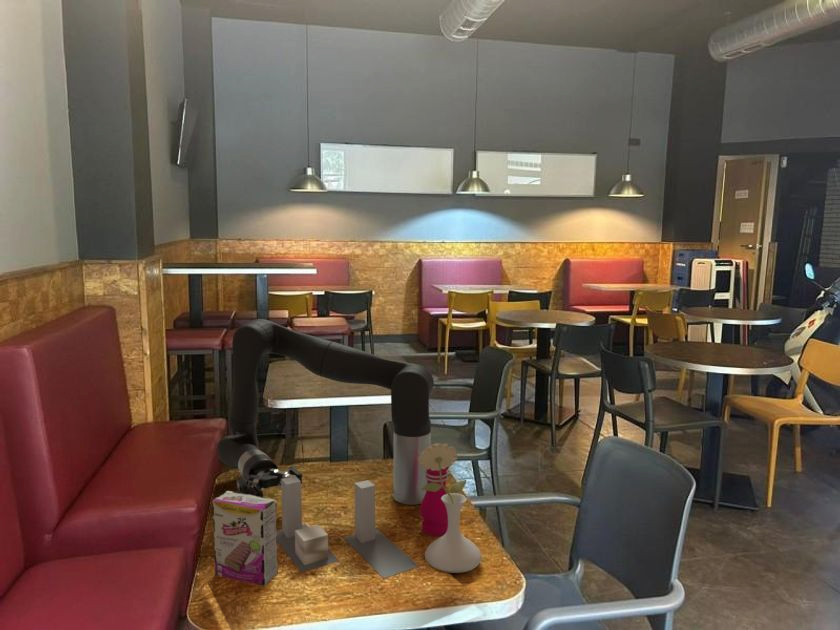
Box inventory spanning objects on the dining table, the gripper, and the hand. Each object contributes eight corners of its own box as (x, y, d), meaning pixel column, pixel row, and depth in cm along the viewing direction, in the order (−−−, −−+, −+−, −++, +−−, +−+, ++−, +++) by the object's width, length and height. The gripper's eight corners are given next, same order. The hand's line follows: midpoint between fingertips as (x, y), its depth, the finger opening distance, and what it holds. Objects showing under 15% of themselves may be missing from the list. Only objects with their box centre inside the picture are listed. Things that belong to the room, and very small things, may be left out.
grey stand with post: (305, 528, 138) (304, 472, 136) (339, 566, 123) (338, 503, 121) (270, 538, 133) (268, 480, 132) (301, 578, 118) (299, 513, 116)
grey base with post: (376, 533, 136) (375, 476, 134) (419, 571, 121) (419, 508, 119) (342, 542, 132) (342, 484, 130) (383, 584, 117) (383, 518, 115)
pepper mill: (427, 540, 134) (428, 451, 131) (414, 525, 140) (415, 440, 137) (457, 533, 136) (459, 446, 134) (443, 519, 143) (444, 436, 140)
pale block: (318, 547, 127) (318, 524, 127) (328, 558, 123) (327, 534, 123) (295, 553, 125) (294, 530, 124) (304, 565, 121) (304, 541, 120)
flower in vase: (483, 551, 129) (486, 436, 125) (478, 582, 118) (481, 456, 114) (421, 545, 131) (422, 432, 128) (411, 575, 120) (412, 451, 117)
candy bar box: (213, 581, 117) (210, 500, 115) (230, 568, 122) (227, 489, 120) (264, 593, 114) (262, 509, 111) (279, 579, 118) (277, 497, 116)
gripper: (227, 459, 147) (248, 483, 134) (285, 448, 155) (310, 470, 141) (228, 489, 148) (249, 516, 135) (285, 477, 156) (310, 501, 142)
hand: (280, 492), depth 138 cm, fingers open, 8 cm apart
